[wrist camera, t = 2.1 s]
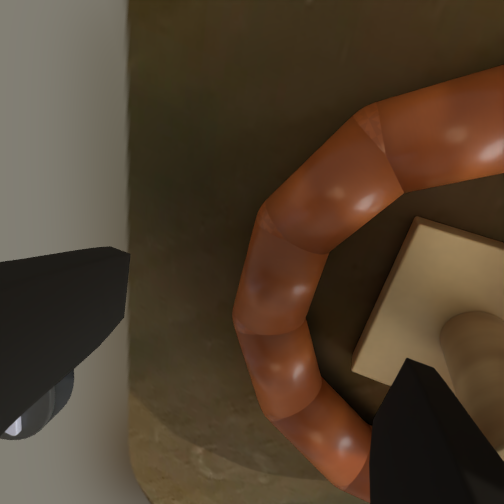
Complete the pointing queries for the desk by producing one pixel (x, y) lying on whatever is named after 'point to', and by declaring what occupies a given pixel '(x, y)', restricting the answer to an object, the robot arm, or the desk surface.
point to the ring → (335, 232)
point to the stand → (443, 319)
